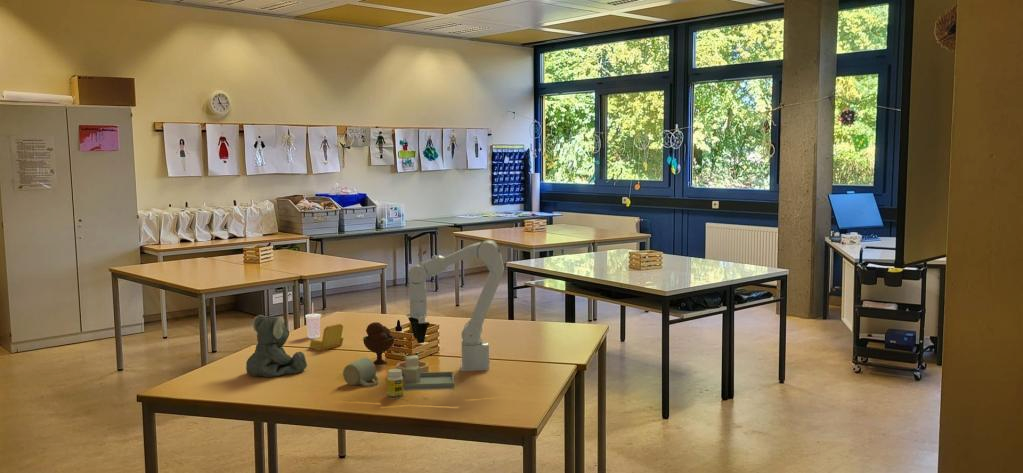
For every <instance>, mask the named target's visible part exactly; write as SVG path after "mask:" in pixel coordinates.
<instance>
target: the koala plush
mask: <svg viewBox="0 0 1023 473" xmlns="http://www.w3.org/2000/svg"><path fill="white" fill-rule="evenodd" d="M285 322H286V321H285V318H283V317H281V316H280V317H276V316H271V315H270V316H268V317H266V316H265V315H263V314H258V315H256V316H255V317H254V318H253V326H252V327H253V331H254V332H255V333H256V340H257V344H256V346H255V349H254V352H253V353H252V354H251V355H250V356H249V357H248V358H247V360H246V366H245V368H246V373H247V374H248V375H250V376H252V377H254V378H256V377H258V378H259V377H266V378H272V377H273V378H274V377H279V376H282V375H293V374H298V373H301V372H303V371H305V369H306V368H307V367H308V364H307V359H306V356H305V353H304V352H302V351H298V352H295V353H294V354H293V355H292V356H291V355H289V354H287V353H286V351H285V349H284V347H283V346H284V345H285V344H286V342H287V340H288V339H289V336H290V331H289V329H287V327H286V325H285ZM247 374H246V375H247Z"/></svg>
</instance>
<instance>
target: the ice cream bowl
mask: <svg viewBox="0 0 1023 473" xmlns="http://www.w3.org/2000/svg"><path fill="white" fill-rule="evenodd" d="M365 332H366V336H363V338H362V341H363V345H364V346H365V348H366V349H367V350H369V351H370V352H372V353H374V354H376V359H375V360H374V361H372V362H373V363H374V365H375V366H381V365H383V366H385V365H387V366H388V361H386V360H384V359H383V353H385V352H387V351H389V350H390V349H391V348H392V347H393V345H394V342H395V335H393V334H391V330H390V329H389V328H388V327H387V326H385V325H383V324H381V323H380V322H377V321H375V322H371V323H370V324H368V325H367V327H366V329H365Z"/></svg>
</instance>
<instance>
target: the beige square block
mask: <svg viewBox="0 0 1023 473" xmlns="http://www.w3.org/2000/svg"><path fill="white" fill-rule="evenodd" d="M418 383H420V366H407V367H406V368H405V369H404V384H418Z"/></svg>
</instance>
